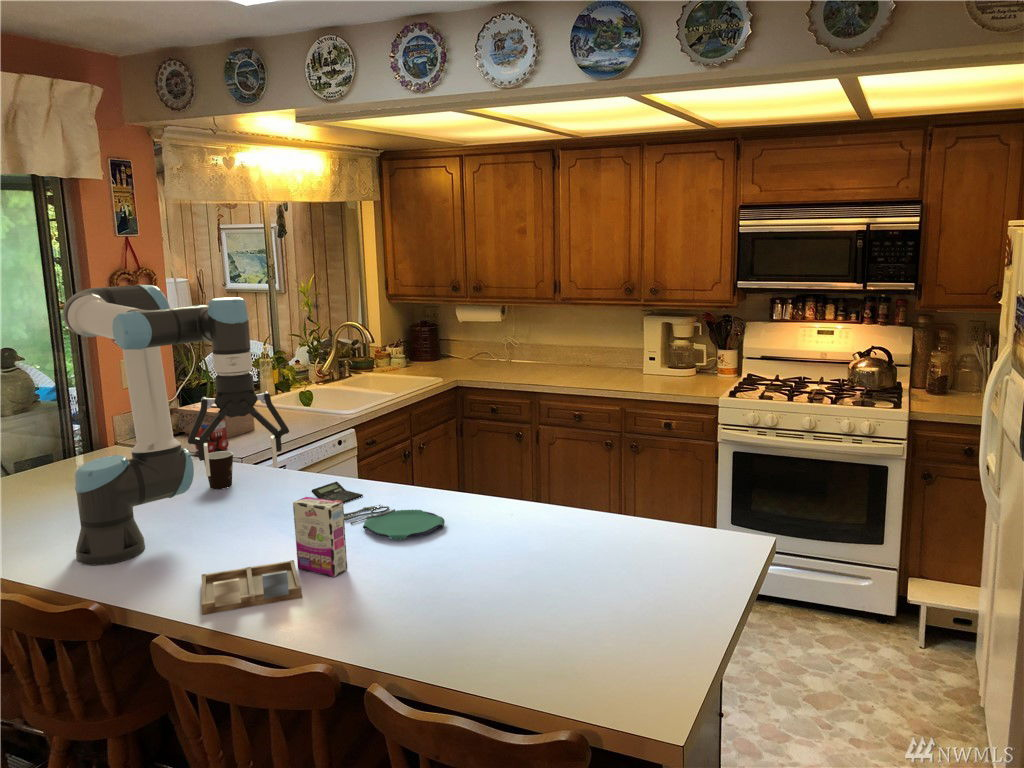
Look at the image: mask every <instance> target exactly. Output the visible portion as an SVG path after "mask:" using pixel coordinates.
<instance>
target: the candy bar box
mask: <svg viewBox="0 0 1024 768" xmlns="http://www.w3.org/2000/svg"><path fill="white" fill-rule="evenodd" d="M292 505H293V506H292V508H293V521H294V534H295V545H296V546H295V547H296V560H297V569H298V570H299V571H300V570H301V571H304V572H309V573H313V574H318V575H322V576H323V575H324V576H328V577H331V578H335V577H337V576H339V575H341V574H343V573H344V572H347V570H348V559H347V545H346V543H347V541H346V540H347V539H346V528H345V527H346V526H345V524H346V523H345V520H344V518H345V517H344V514H345V513H344V512H345V511H344V510H345V509H344V504H343V502H337V501H331V500H325V499H318V498H317V497H311V496H310V497H309V496H305V497H302V498H300V499H298V500H295V501H293V502H292Z"/></svg>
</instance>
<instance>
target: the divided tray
mask: <svg viewBox="0 0 1024 768" xmlns="http://www.w3.org/2000/svg"><path fill="white" fill-rule="evenodd" d="M302 598H303V588H302V585H301V582H300V579H299V575H298V571H297V568H296V564H295V559H293V560H287V561H282V562H281V561H280V562H275V563H274V562H273V563H268V564H260V565H255V566H248V567H243V568H236V569H229V570H224V571H216V572H211V573H202V574H201V603H200V606H201V607H200V609H201V615H203V616H205V615H209V614H215V613H221V612H226V611H233V610H238V609H239V610H240V609H243V608H244V609H245V608H249V607H250V608H251V607H254V606H255V607H256V606H262V605H266V604H267V605H268V604H272V603H277V602H278V603H279V602H285V601H290V600H296V599H302Z"/></svg>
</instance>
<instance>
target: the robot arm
mask: <svg viewBox="0 0 1024 768" xmlns="http://www.w3.org/2000/svg"><path fill="white" fill-rule="evenodd" d="M247 307H248V305H247V301H246V299H244V298H242V297H231V296H230V297H218V298H212V299H210V300H209V302H208V304H203V303H202V304H195V305H194V304H193V305H191V306H187V307H186V306H185V307H184V306H183V307H177V308H176V307H175V308H174V307H173V308H171V307H170V303H169V301H168V299H167V297H166V295H165V294H164V293H163V292H162V290H161V289H160V288H159V287H157V286H155V285H152V284H134V285H133V284H132V285H131V284H130V285H119V286H117V285H116V286H107V287H101V286H100V287H91V288H90V287H89V288H87V289H86V288H85V289H83V290H80V291H79V292H76V293H74V294H73V295H72V296H71V297H70V298H68V299H67V300H66V302H65V303H64V306H63V309H62V318H63V321H64V324H65V326H66V327H67V328H68V329H69V330H70V331H71V332H72V333H74V334H76V335H79V336H82V337H85V338H95V337H104V338H107V339H111V340H113V342H114V344H116V345H117V346H118V347H119V348H120V349H122V356H123V362H124V363H123V364H124V368H125V375H126V380H127V381H126V382H127V388H128V395H129V402H130V408H131V415H132V420H133V421H132V422H133V426H134V433H135V439H136V444H135V445H134V447H132V449H131V450H130V451H131V458H130V459H128V457H126V456H125V455H123V454H122V455H121V454H113V455H110V456H109V455H106V456H103V457H98V458H95V459H93V460H90V461H88V462H85V463H84V464H82V465H81V466H80V467H78V468H77V469H76V471H75V474H74V485H75V486H74V491H75V493H76V499H77V500H76V501H77V506H78V514H79V515H78V516H79V521H80V531H79V535H78V538H77V543H76V546H75V547H76V548H75V555H76V561H77V562H78V563H80V564H82V565H89V566H100V565H103V566H104V565H109V564H115V563H119V562H123V561H127V560H129V559H132V558H134V557H136V556H138V555H140V554H141V553H143V551H144V550H145V549H146V544H145V537H144V535H143V533H142V531H141V530H140V528H139V525H138V523H137V522H136V521H135V518H134V517H135V516H134V507H137V506H141V505H145V504H148V503H152V502H157V501H160V500H165V499H172V498H174V497H176V496H179V495H182V494H185V493H186V492H188V491H189V489H190V488H191V486H192V484H193V481H194V475H195V474H194V472H195V470H194V469H195V465H194V462H193V461H194V460H193V458H192V454H191V452H190V451H189V450H188V449H187V448H183V447H182V443H181V442H180V441H179V440H178V439H176V438H175V437H174V432H173V426H172V420H171V412H170V406H169V405H170V404H169V399H168V393H167V392H168V391H167V386H166V385H167V384H166V378H165V372H164V366H163V358H162V351H161V347H163V346H164V347H165V346H171V345H172V346H174V345H175V346H176V345H182V344H193V343H199V342H200V343H201V342H211V348H212V349H211V351H212V360H213V370H214V373H216V374H215V376H214V383H215V392H216V395H215V398H214V397H213V398H212V397H211V398H210V397H206V396H202V397H201V399H200V402H201V408H200V411H199V413H198V415H197V418H196V420H195V423H194V425H193V427H192V430H191V432H190V434H189V433H188V436H187V443H188V444H189V445H194V446H195V445H197V447H198V450H197V455H198V459H199V461H200V462H201V461H204V460H205V463H204V466H205V465H206V467H205V472H206V473H205V475H206V477H208V476H210V466H209V455H208V445H207V443H205V442H206V440H207V439H208V438H209V436H210V435H211V434H212V432H213V431H214V430H215V428H216V427H217V426H218V425H219V423H220V422H221V421H222V420H223V419H224V417H225V416H228V417H230V418H231V417H236V416H245V415H247V414H249V413H250V414H251V415H252V416H253V417H254V419H255V420H256V421H258V422H259V423H260V425H262V426H263V427H264V428H265V429H266V430H268V432H270V434H272V435H270V443H271V444H270V445H271V456H272V458H271V459H272V466H273V469H278V468H279V467H278V465H279V464H278V452H282V437H283V436H284V435H287V434H289V433H290V430H289V427H288V426H287V424H286V422H285V421H284V420H283V418H282V416H281V414H280V413H279V412H278V410H277V408H276V406H275V405H274V404H273V402H272V398H271V394H270V392H269V391H267V390H266V391H264V392H263V393H257V394H256V392H255V385H254V374H253V373H252V371H251V370H252V369H253V361H252V350H251V339H250V338H251V336H250V322H249V313H248V308H247ZM258 401H260V402H261V404H264V405H265V406H266V407H267V408H268V411H269V413H270V414H271V416H273V418H274V419H275V422H276V423H277V425H278V426H279V427H280V428H279V429H278V428H277V427H275V426H274V424H273V423H272V422H270V421H269V420H268V419H267V418H266V417H265V416H264V415H262V414H261V413H260V411H258V409H257V408H256V407H254V406H255V404H256V403H257V402H258ZM213 404H216V406H217V407H218V408H219V409H220V410H219V411H218V413H217V414H216V416H215V417H214V419H213V420H212V421H211V423H210V424H209V425H208V426H207V428H206V429H205V430H204V432H203V433H202V434H201V436H200V437H199V438H196V436H197V434H198V431H199V429H200V427H201V424H202V422H203V420H204V417H205V415H206V412H207V409H210V408H211V406H212V405H213ZM209 439H210V438H209Z"/></svg>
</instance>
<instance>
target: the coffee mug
mask: <svg viewBox="0 0 1024 768" xmlns="http://www.w3.org/2000/svg"><path fill="white" fill-rule="evenodd" d="M208 455H209V466H210V476H207V480H208V484H209V488H210V489H211V488H212V490H224V489H223V488H225V489H228V488H227V487H229V488H231V487H232V486H233V468H234V467H233V465H234V464H233V463H234V462H233V461H234V458H233V457H234V453H233V451H225V450H220V451H214V452H212V453H208ZM203 462H204V467H205V468H206V465H205V460H203ZM231 485H232V486H231ZM230 486H231V487H230Z"/></svg>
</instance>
